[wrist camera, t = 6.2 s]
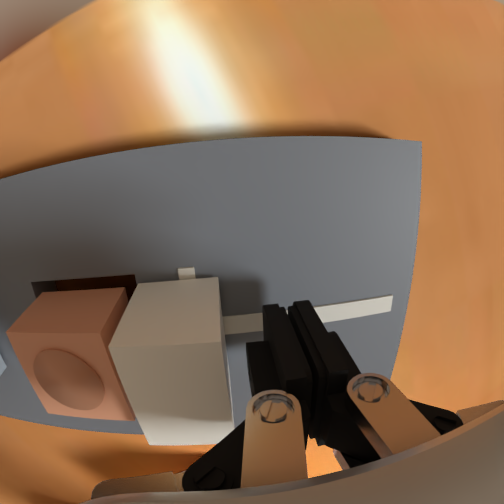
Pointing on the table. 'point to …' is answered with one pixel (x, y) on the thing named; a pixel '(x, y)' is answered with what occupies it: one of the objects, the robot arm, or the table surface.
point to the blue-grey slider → (2, 365)
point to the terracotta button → (73, 352)
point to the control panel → (222, 241)
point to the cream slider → (176, 362)
